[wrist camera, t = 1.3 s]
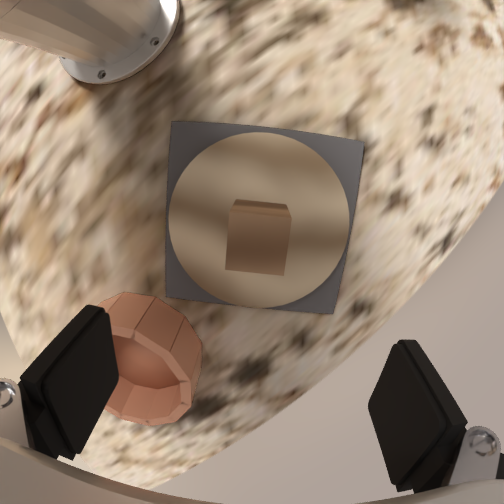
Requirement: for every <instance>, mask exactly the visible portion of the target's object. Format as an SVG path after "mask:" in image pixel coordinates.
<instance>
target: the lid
mask: <svg viewBox="0 0 504 504" xmlns="http://www.w3.org/2000/svg"><path fill="white" fill-rule="evenodd" d="M168 220H169V232H170V238H171V242H172V245H173V249H174V251H175V254H176V256H177V258H178V260H179V262H180V263H181V265H182V267H183V268H184V270H185V271H186V272H187V274H188V275H189V276H190V277H191V278H192V279H193V280H194V281H195V282H196V283H197V284H198V285H199V286H200V287H201V288H203V289H204V290H205V291H207V292H208V293H210V294H211V295H213V296H215V297H217V298H218V299H221V300H223V301H225V302H228V303H231V304H234V305H238V306H243V307H250V308H268V307H275V306H281V305H284V304H288V303H291V302H294V301H296V300H298V299H300V298H302V297H304V296H306V295H307V294H309V293H311V292H312V291H313V290H315V289H316V288H317V287H318V286H320V285H321V284H322V283H323V282H324V281H325V280H326V279H327V278H328V277H329V275H330V274H331V273H332V271H333V270H334V269H335V267H336V266H337V264H338V262H339V260H340V259H341V256H342V254H343V252H344V249H345V246H346V242H347V238H348V233H349V209H348V202H347V199H346V195H345V192H344V189H343V187H342V185H341V183H340V180H339V179H338V177H337V175H336V174H335V172H334V171H333V169H332V168H331V167H330V166H329V164H328V163H327V162H326V161H325V160H324V159H323V158H322V157H321V156H320V155H319V154H317V153H316V152H315V151H314V150H312V149H311V148H309V147H308V146H306V145H305V144H303V143H301V142H299V141H297V140H295V139H292V138H289V137H286V136H283V135H279V134H273V133H263V132H253V133H243V134H239V135H235V136H231V137H228V138H225V139H223V140H220V141H218V142H216V143H215V144H213V145H211V146H209V147H208V148H206V149H205V150H204V151H202V152H201V153H200V154H198V155H197V156H196V157H195V158H194V159H193V160H192V161H191V162H190V163H189V165H188V166H187V167H186V169H185V170H184V171H183V173H182V174H181V176H180V178H179V180H178V182H177V183H176V186H175V189H174V191H173V194H172V197H171V202H170V206H169V217H168Z"/></svg>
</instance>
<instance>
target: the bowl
mask: <svg viewBox="0 0 504 504" xmlns="http://www.w3.org/2000/svg"><path fill="white" fill-rule="evenodd" d="M98 307H103V308H104V309H105V312H106V313H108V314H109V316H110V322H111V329H112V336H113V343H114V349H115V355H116V361H117V366H118V372H119V381H118V384H117V386H116V387H115V389H114V391H113V393H112V395H111V397H110V398H109V400H108V402H107V404H106V406H105V408H104V409H105V410H107V411H108V412H110V413H112V414H113V415H115V416H117V417H118V418H121V419H123V420H127V421H131V422H135V423H139V424H144V425H148V426H149V425H150V426H152V425H159V424H165V423H171V422H175V421H177V420H178V419H179V418H180V417H181V416H182V415H183V414H184V413H185V412H186V411H187V410H188V409H189V408H190V407H191V406H192V402H193V398H194V394H195V390H196V386H197V382H198V379H199V375H200V371H201V359H202V342H201V341H200V339H199V338H198V336H197V335H196V333H195V331H194V330H193V328H192V327H191V325H190V323H189V322H188V320H187V318H186V317H185V316H184V315H183V314H181V313H179V312H178V311H176V310H175V309H173V308H172V307H170V306H169V305H167V304H166V303H164V302H163V301H161V300H160V299H158V298H157V297H156V298H155V297H153V296H146V295H140V294H133V293H127V292H123V293H121V294H119V295H116V296H114V297H112V298H110V299H107V300H105V301H103V302H101V303H100V304H99V305H98Z"/></svg>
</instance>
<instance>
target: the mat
mask: <svg viewBox="0 0 504 504" xmlns="http://www.w3.org/2000/svg"><path fill="white" fill-rule="evenodd" d="M253 132H263V133H273V134H279V135H283V136H286V137H289V138H292V139H295V140H297V141H299V142H301V143H303V144H305V145H306V146H308V147H309V148H311V149H312V150H314V151H315V152H316V153H317V154H319V155H320V156H321V157H322V158H323V159H324V160H325V161H326V162H327V163H328V164H329V166H330V167H331V168H332V169H333V171H334V172H335V174H336V175H337V177H338V179H339V180H340V183H341V185H342V187H343V189H344V192H345V195H346V199H347V202H348V209H349V233H348V238H347V242H346V246H345V249H344V252H343V254H342V256H341V259H340V260H339V262H338V264H337V266H336V267H335V269H334V270H333V271H332V273H331V274H330V275H329V277H328V278H327V279H326V280H325V281H324V282H323V283H322V284H321V285H320V286H318V287H317V288H316V289H315V290H313V291H312V292H311V293H309V294H307V295H306V296H304V297H302V298H300V299H298V300H296V301H294V302H291V303H288V304H284V305H281V306H275V307H268V308H265V309H276V310H287V311H299V312H312V313H326V314H333V312H334V308H335V304H336V300H337V296H338V291H339V287H340V282H341V278H342V273H343V269H344V264H345V259H346V254H347V249H348V244H349V239H350V234H351V228H352V223H353V217H354V211H355V205H356V199H357V193H358V186H359V179H360V172H361V165H362V158H363V150H364V142H361V141H356V140H351V139H346V138H340V137H334V136H329V135H322V134H316V133H309V132H302V131H295V130H287V129H279V128H270V127H261V126H250V125H239V124H225V123H208V122H182V121H172V125H171V136H170V149H169V164H168V181H167V205H166V297H171V298H178V299H186V300H193V301H201V302H210V303H218V304H227V305H234V304H231V303H228V302H225V301H223V300H221V299H218V298H217V297H215V296H213V295H211V294H210V293H208V292H207V291H205V290H204V289H203V288H201V287H200V286H199V285H198V284H197V283H196V282H195V281H194V280H193V279H192V278H191V277H190V276H189V275H188V274H187V272H186V271H185V270H184V268H183V267H182V265H181V263H180V262H179V260H178V258H177V256H176V254H175V251H174V249H173V245H172V242H171V238H170V232H169V220H168V217H169V206H170V202H171V197H172V194H173V191H174V189H175V186H176V183H177V182H178V180H179V178H180V176H181V174H182V173H183V171H184V170H185V169H186V167H187V166H188V165H189V163H190V162H191V161H192V160H193V159H194V158H195V157H196V156H197V155H198V154H200V153H201V152H202V151H204V150H205V149H206V148H208V147H209V146H211V145H213V144H215V143H216V142H218V141H220V140H223V139H225V138H228V137H231V136H235V135H239V134H243V133H253ZM236 306H238V305H236Z"/></svg>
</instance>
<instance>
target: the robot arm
mask: <svg viewBox="0 0 504 504" xmlns="http://www.w3.org/2000/svg"><path fill="white" fill-rule="evenodd" d="M179 12H180V4H179V0H0V39H4V40H8V41H11V42H15V43H19V44H22V45H26V46H29V47H33V48H36V49H39V50H42V51H46V52H49V53H52V54H55V55H58V56H59V58H60V62H61V64H62V66H63V67H64V69H65V70H66V71H67V72H68V73H69V74H70V76H72V77H74V78H75V79H77V80H79V81H82V82H86V83H91V84H109V83H113V82H118V81H121V80H123V79H125V78H128V77H130V76H132V75H134V74H135V73H137V72H139V71H140V70H142V69H143V68H145V67H146V66H147V65H148V64H149V63H151V62H152V61H153V60H154V59H155V58H156V57H157V56H158V55H159V54H160V53H161V52H162V51H163V49H164V48H165V46H166V45H167V44H168V42H169V41H170V39H171V37H172V35H173V33H174V31H175V29H176V26H177V23H178V19H179ZM157 42H159V43H158V44H157V45H156V43H157ZM105 74H106V75H105ZM104 76H105V77H104ZM20 379H21V381H20V382H19V383H18V384H16V383H15V382H14V381H12V380H11V379H6V378H0V504H221V503H213V502H206V501H199V500H193V499H187V498H182V497H176V496H171V495H167V494H162V493H157V492H153V491H149V490H145V489H141V488H137V487H134V486H130V485H127V484H123V483H120V482H116V481H113V480H110V479H107V478H104V477H101V476H98V475H95V474H93V473H90V472H87V471H84V470H81V469H79V468H76V467H73V466H71V465H68V464H66V463H63V462H61V461H58V460H57V458H58V456H59V455H60V456H63V457H65V458H68V459H70V460H72V461H73V459H74V457H75V455H76V453H77V454H80V453H81V452H82V450H83V448H84V446H85V444H86V442H87V440H88V438H89V436H90V434H91V433H92V431H93V429H94V427H95V425H96V423H97V421H98V419H99V417H100V415H101V413H102V412H103V410H104V408H105V406H106V404H107V402H108V400H109V398H110V397H111V395H112V393H113V391H114V389H115V387H116V386H117V384H118V381H119V372H118V366H117V361H116V355H115V349H114V343H113V336H112V329H111V322H110V316H109V314H108V313H106V312H105V309H104V308H103V307H98V306H93V305H86V306H85V307H84V308H83V309H82V310H81V311H80V312H79V313H78V314H77V315H76V316H75V317H74V318H73V319H72V320H71V321H70V322H69V324H68V325H67V326H66V327H65V328H64V329H63V330H62V331H61V332H60V333H59V334H58V335H57V336H56V337H55V338H54V339H53V340H52V342H51V343H50V344H49V345H48V346H47V347H46V348H45V349H44V350H43V351H42V353H41V354H40V355H39V356H38V357H37V358H36V359H35V360H34V361H33V363H32V364H31V365H30V366H29V367H28V368H27V369H26V371H25V372H24V373H23V374H22V375H21V376H20ZM368 409H369V413H370V416H371V419H372V422H373V425H374V428H375V431H376V434H377V438H378V441H379V444H380V447H381V450H382V454H383V457H384V460H385V464H386V467H387V470H388V474H389V477H390V481H391V483H392V484H393V485H396V489H397V492H402V491H406V490H411V489H412V488H413V491H414V494H411V495H406V496H401V497H396V498H390V499H384V500H378V501H372V502H365V503H357V504H504V454H502V453H500V450H501V446H500V445H501V444H500V441H499V438H498V437H497V436H496V434H495V433H494V432H493V431H491V430H490V429H488V428H486V427H482V426H475V427H471V428H470V429H469V430H466V428H465V426H466V424H467V423H468V422H467V420H466V418H465V417H464V415H463V413H462V411H461V410H460V408H459V406H458V405H457V403H456V401H455V400H454V398H453V396H452V395H451V393H450V391H449V390H448V388H447V387H446V385H445V383H444V382H443V380H442V379H441V377H440V376H439V374H438V372H437V371H436V369H435V368H434V366H433V365H432V363H431V362H430V360H429V359H428V357H427V355H426V354H425V353H424V351H423V350H422V348H421V347H420V345H419V344H418V342H417V341H416V340H399V341H398V342H397V344H394V345H393V346H392V348H391V351H390V354H389V356H388V359H387V361H386V363H385V366H384V368H383V371H382V373H381V375H380V378H379V380H378V382H377V384H376V387H375V389H374V391H373V393H372V395H371V397H370V400H369V403H368Z"/></svg>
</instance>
